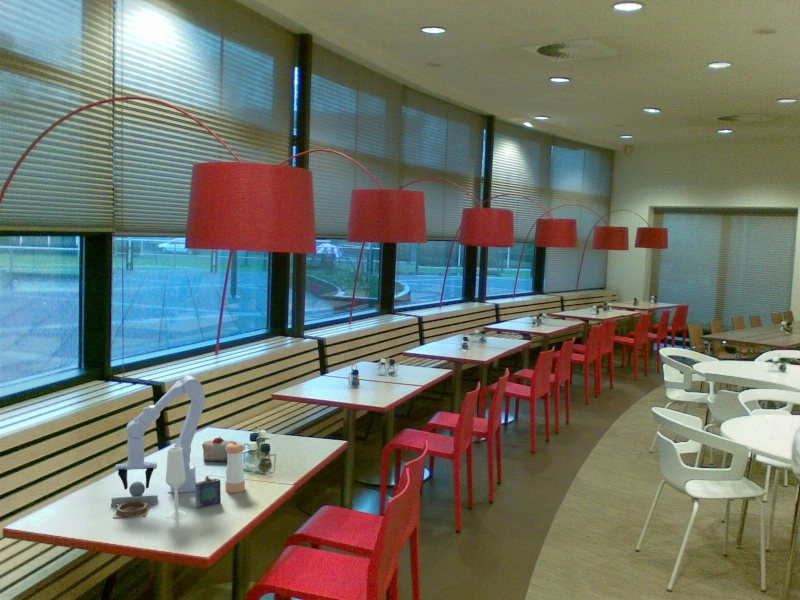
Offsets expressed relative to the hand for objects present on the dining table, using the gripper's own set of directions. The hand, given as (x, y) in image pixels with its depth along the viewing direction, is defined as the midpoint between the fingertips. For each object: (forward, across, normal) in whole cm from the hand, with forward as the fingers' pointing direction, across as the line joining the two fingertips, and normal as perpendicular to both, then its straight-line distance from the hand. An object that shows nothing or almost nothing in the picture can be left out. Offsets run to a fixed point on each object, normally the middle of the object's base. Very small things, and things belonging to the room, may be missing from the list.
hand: (136, 488), depth 267 cm
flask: (+3, +27, -13) cm, 30 cm away
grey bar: (+3, +1, -8) cm, 8 cm away
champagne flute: (+3, +17, -21) cm, 27 cm away
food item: (+3, +27, +39) cm, 48 cm away
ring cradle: (+3, +1, -15) cm, 15 cm away
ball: (0, 0, 0) cm, 0 cm away
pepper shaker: (+3, +36, +1) cm, 36 cm away
